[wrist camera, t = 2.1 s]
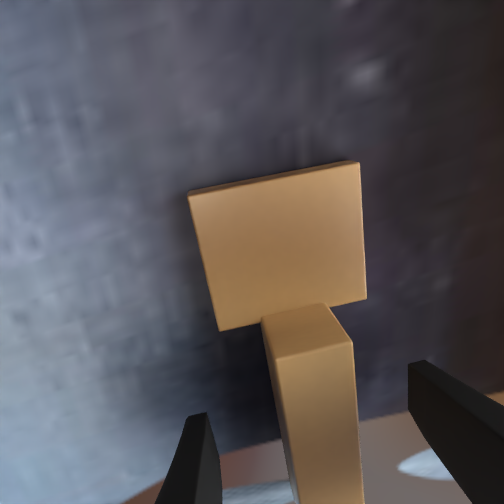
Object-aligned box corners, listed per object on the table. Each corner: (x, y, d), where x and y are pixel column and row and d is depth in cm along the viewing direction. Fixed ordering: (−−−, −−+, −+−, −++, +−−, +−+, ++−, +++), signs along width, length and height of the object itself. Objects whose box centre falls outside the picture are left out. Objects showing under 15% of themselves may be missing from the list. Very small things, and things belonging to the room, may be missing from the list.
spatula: (368, 462, 15) (405, 537, 13) (258, 490, 15) (271, 574, 12) (349, 159, 11) (402, 171, 8) (187, 190, 10) (181, 215, 8)
